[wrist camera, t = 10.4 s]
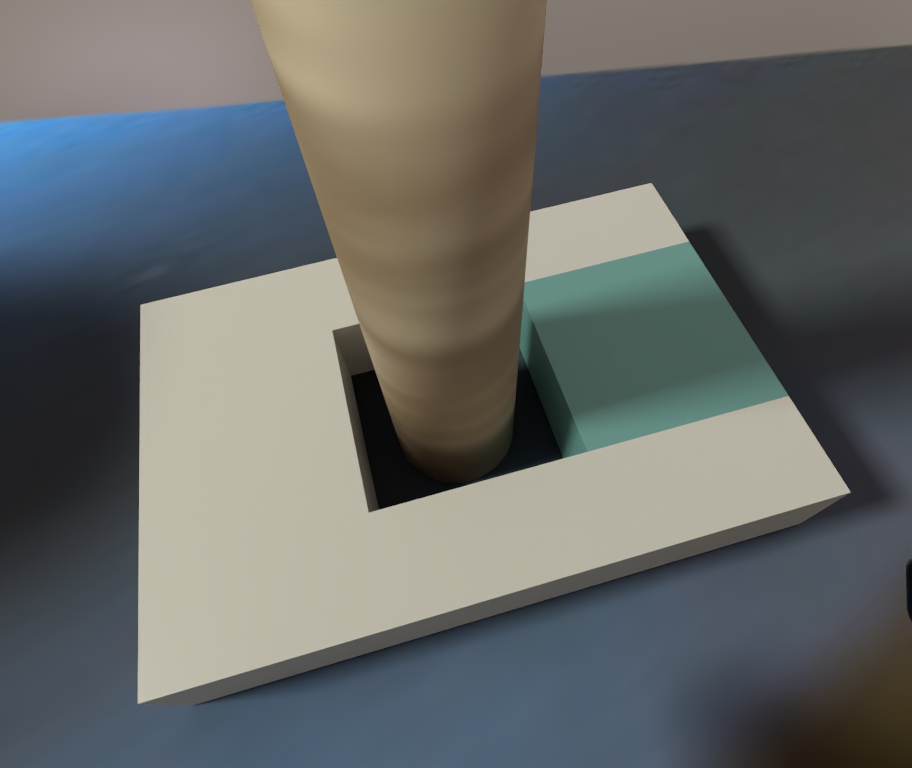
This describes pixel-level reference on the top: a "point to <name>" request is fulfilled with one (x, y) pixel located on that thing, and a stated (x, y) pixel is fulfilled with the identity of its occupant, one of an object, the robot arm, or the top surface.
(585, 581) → the socket plate
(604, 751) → the top surface
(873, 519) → the top surface
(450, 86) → the birch peg
